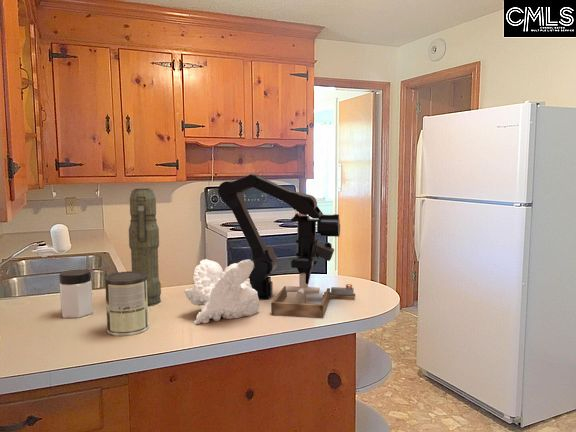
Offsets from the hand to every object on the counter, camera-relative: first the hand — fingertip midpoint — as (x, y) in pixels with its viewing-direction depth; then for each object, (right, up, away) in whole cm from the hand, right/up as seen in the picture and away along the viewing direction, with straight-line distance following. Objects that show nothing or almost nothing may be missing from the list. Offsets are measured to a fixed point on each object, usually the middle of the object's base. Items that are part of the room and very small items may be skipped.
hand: (306, 284), depth 148 cm
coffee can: (-47, -8, -27) cm, 55 cm away
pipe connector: (-1, -6, -7) cm, 9 cm away
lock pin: (+12, -4, +2) cm, 13 cm away
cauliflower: (-25, -7, -16) cm, 30 cm away
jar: (-66, -6, -14) cm, 68 cm away
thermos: (-50, -5, -3) cm, 50 cm away
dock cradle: (+3, -5, -6) cm, 8 cm away
